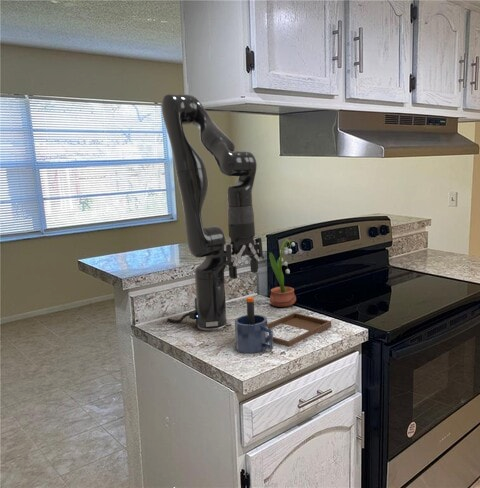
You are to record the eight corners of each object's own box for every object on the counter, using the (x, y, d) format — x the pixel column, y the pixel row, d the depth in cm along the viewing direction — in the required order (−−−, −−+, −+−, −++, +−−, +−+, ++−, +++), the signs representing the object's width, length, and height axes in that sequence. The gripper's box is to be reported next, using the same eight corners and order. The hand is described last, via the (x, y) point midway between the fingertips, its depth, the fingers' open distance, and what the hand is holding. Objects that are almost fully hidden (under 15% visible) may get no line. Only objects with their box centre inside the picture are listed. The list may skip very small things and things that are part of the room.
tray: (250, 337, 153) (250, 331, 152) (294, 317, 170) (294, 312, 169) (288, 348, 144) (288, 342, 143) (331, 327, 161) (331, 321, 160)
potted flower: (286, 297, 193) (284, 234, 188) (305, 302, 187) (304, 237, 182) (264, 305, 184) (261, 239, 179) (283, 310, 178) (281, 242, 173)
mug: (229, 350, 143) (228, 321, 141) (251, 340, 150) (250, 312, 148) (261, 361, 135) (260, 330, 134) (283, 350, 143) (282, 320, 141)
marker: (246, 347, 143) (244, 298, 141) (252, 345, 145) (250, 296, 142) (252, 349, 142) (250, 299, 139) (257, 346, 144) (255, 297, 141)
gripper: (249, 217, 150) (251, 269, 153) (213, 223, 139) (217, 278, 142) (267, 218, 146) (269, 271, 149) (232, 225, 135) (235, 282, 138)
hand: (244, 275), depth 146 cm, fingers open, 8 cm apart
